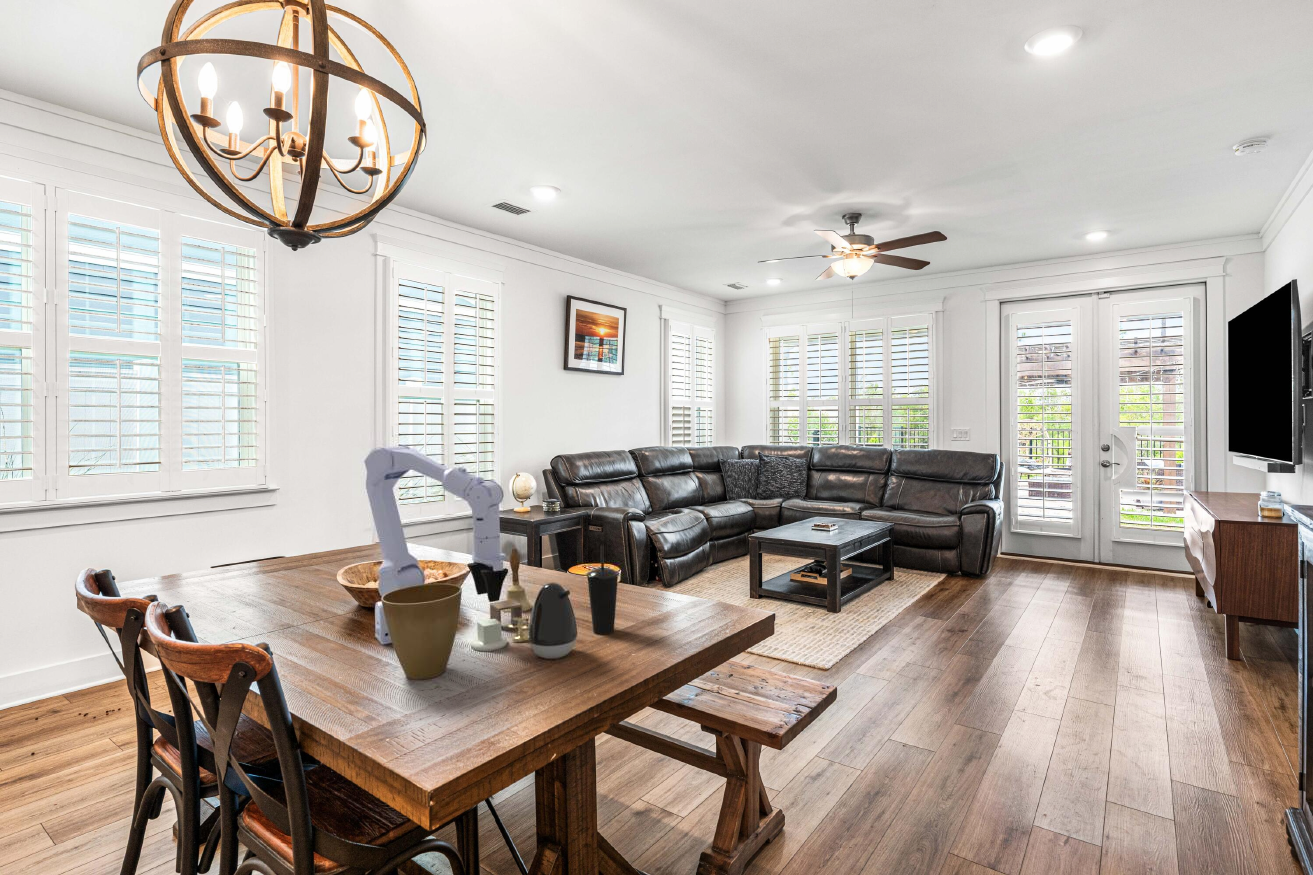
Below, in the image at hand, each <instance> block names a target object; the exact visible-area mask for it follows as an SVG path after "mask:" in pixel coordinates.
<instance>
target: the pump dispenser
mask: <svg viewBox="0 0 1313 875" xmlns="http://www.w3.org/2000/svg"><path fill="white" fill-rule="evenodd" d="M570 594H571V591H570V590H569V589H568V590H566V589H565V588H564V586H562V585H561V584H560V583H556V582H548V583H546V584H544V585H543V586H541V588H540V590H539V591H538V593H537V595H536V596H535V600H534V602H533V605H532V608H531V609H532V610H531V614H530V619H529V623H528V624H529V630H528V633H527V634H528V642H529V643H530V647H531V649H532V651H533V652H534V653H535V654H536V655H537V656H538V657H540V658H543V659H548V660H554V659H560V658H562V657H565V656H566V655H568V654H569V653H571V651H572V650H573V649H574V647H575V643H576V640H577V638H578V628H577V626H578V625H577V621H576V615H575V612H574V608H573V605H572V602H571V599H570V597H569V596H570Z"/></svg>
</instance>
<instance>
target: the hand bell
mask: <svg viewBox="0 0 1313 875" xmlns="http://www.w3.org/2000/svg"><path fill="white" fill-rule="evenodd" d="M510 551H511V552H510V554H509V555H510V556H509V566H510V569H511V574H512V575H511V576H512V577H511V580H512V585H511V586H510V587H508V588H507V592H506V599H505V601H506V600H512V599H513V600H515V601H516V602H518V603H520V604H522V613H523V612H527V611H529V610H531V609H533V604H532V603H531V602H530V601H529V600H528V598H527V594H526V590H525V587H524V586H522V585H521V584H520V578H519V577H520V576H519V569H520V565H521V564H520V563H521V561H520V554H519V552H518V549H517V547H511V550H510ZM501 612H504V613H509V614H511V609H506V610H501Z"/></svg>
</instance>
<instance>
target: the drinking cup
mask: <svg viewBox="0 0 1313 875" xmlns="http://www.w3.org/2000/svg"><path fill="white" fill-rule="evenodd" d="M604 548H605V546H604V545H600V567H597V568H593V569H592V570H590V571H588V572H587V573H585V575H586V578H587V585H588V596H589V604H590V614H591V621H592V631H593V632H592V633H594V634H595V635H600V636H602V635H610V634H613V633H614V632H615V624H616V621H615V620H616V606H617V594H618V582H619V581H618V579H619V576H620V572H619V571H618V570H614V569H612V568H610V567H605V556H604V555H605V553H604V552H605V551H604V550H605V549H604Z"/></svg>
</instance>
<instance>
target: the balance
mask: <svg viewBox="0 0 1313 875" xmlns="http://www.w3.org/2000/svg"><path fill="white" fill-rule="evenodd" d="M524 622H526V623H525V624H524ZM529 622H530V619H529V618H526V617H522V618H516V617H515V618H513V619H511V618H510V623H508V624H507V628H508V629H517V630H518V633H516V634H515V635H513V636H512V642H513V643H517V644H518V643H526V642H529V640H528V633H524V630H525V631H526V630H528V631H529V624H530V623H529Z"/></svg>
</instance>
